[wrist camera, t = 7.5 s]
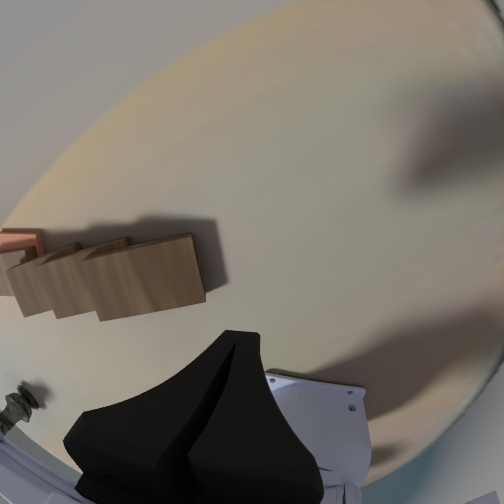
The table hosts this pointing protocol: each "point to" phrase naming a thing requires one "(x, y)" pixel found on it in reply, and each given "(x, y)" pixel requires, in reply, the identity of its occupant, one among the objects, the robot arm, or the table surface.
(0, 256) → the tile
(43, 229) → the table surface
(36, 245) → the tile
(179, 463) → the robot arm
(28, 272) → the tile
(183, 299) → the tile
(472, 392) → the table surface
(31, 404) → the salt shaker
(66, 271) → the tile
